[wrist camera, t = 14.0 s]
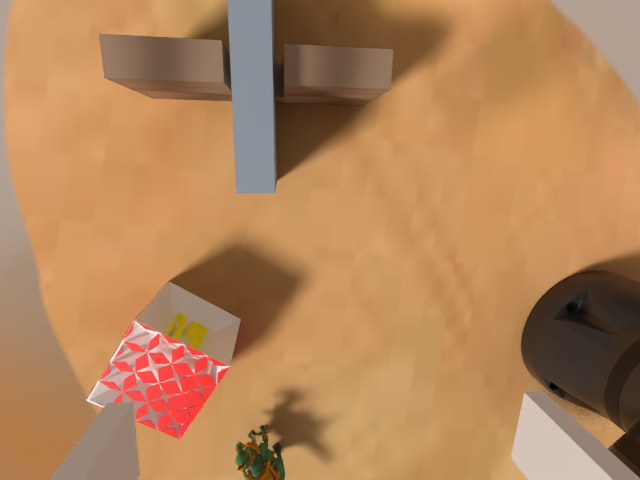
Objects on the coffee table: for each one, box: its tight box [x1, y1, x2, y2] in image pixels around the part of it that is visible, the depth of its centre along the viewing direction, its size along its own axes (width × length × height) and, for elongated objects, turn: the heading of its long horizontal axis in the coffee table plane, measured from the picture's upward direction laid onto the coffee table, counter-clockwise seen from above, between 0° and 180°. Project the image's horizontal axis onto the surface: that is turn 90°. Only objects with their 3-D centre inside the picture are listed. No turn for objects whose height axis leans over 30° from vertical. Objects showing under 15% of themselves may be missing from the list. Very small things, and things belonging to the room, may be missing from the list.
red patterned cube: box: [87, 281, 241, 439], centre depth 30 cm, size 8×8×8 cm
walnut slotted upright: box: [99, 34, 393, 105], centre depth 25 cm, size 18×2×8 cm, turn 89°
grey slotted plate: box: [227, 0, 277, 193], centre depth 24 cm, size 2×16×10 cm, turn 179°
